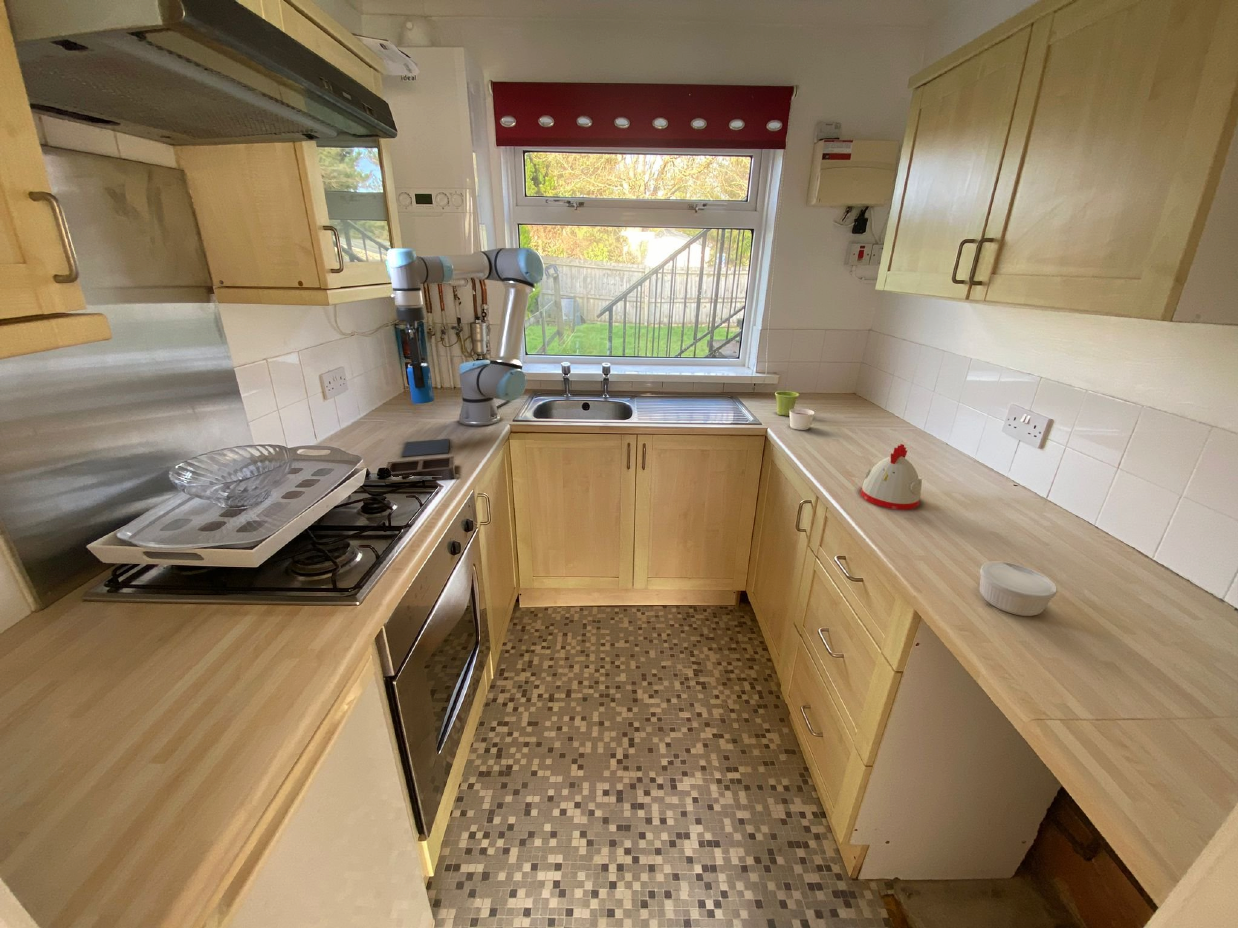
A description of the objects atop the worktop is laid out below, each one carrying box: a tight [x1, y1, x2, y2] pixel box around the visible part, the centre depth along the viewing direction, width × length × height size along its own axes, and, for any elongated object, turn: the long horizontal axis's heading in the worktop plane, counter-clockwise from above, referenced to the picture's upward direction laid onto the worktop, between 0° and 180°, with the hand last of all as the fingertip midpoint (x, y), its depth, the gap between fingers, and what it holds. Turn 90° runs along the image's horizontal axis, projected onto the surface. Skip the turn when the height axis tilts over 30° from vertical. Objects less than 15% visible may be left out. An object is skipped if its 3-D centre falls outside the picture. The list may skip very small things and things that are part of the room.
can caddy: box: [385, 456, 456, 481], centre depth 147 cm, size 10×18×3 cm, turn 106°
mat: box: [401, 438, 450, 458], centre depth 169 cm, size 14×14×1 cm
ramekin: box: [979, 560, 1058, 617], centre depth 93 cm, size 11×11×5 cm
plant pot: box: [774, 390, 800, 417], centre depth 210 cm, size 9×9×9 cm
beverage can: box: [406, 362, 435, 407], centre depth 156 cm, size 6×6×12 cm
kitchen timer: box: [860, 443, 923, 511], centre depth 133 cm, size 14×14×15 cm
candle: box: [789, 407, 815, 431], centre depth 193 cm, size 9×9×6 cm
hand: (420, 384), depth 156 cm, fingers closed on beverage can, 6 cm apart
